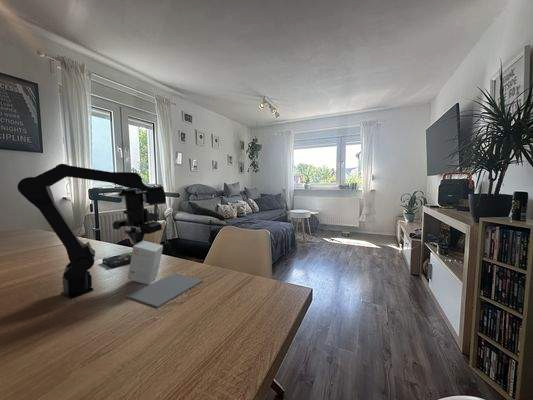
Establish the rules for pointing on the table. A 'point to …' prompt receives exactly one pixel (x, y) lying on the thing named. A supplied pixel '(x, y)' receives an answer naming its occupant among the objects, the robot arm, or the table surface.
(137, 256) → the small box
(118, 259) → the disk drive
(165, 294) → the mat
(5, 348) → the table surface
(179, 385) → the table surface
